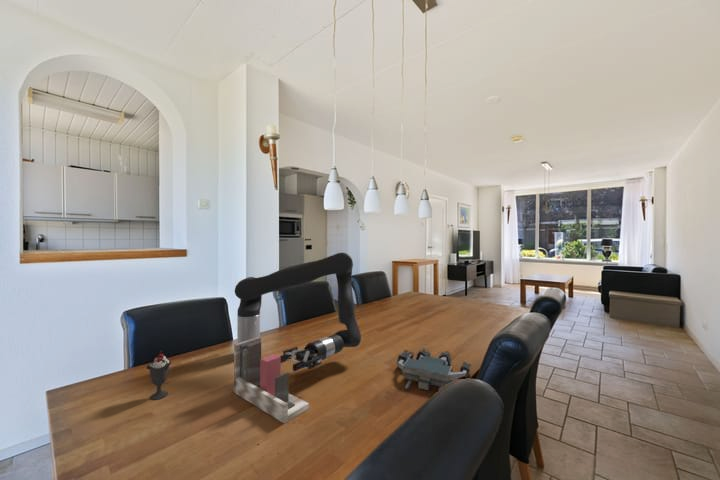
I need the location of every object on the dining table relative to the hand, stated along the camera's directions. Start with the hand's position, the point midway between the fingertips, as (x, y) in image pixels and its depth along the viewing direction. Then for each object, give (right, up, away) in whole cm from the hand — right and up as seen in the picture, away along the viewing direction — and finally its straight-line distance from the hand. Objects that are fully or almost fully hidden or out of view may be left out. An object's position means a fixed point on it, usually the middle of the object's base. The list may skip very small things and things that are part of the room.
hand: (285, 364), depth 98 cm
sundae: (-40, -9, -3) cm, 41 cm away
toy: (+52, -11, +14) cm, 55 cm away
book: (-4, -8, -4) cm, 10 cm away
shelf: (-3, -9, -4) cm, 11 cm away
